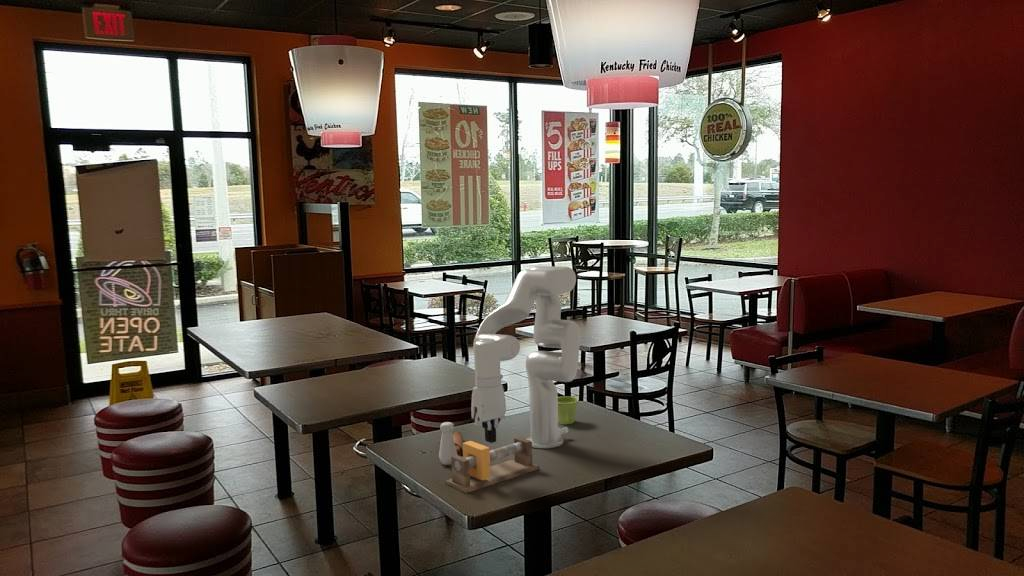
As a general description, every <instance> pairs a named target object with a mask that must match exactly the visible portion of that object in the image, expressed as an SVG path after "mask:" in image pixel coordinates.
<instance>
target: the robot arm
mask: <svg viewBox="0 0 1024 576" xmlns="http://www.w3.org/2000/svg"><path fill="white" fill-rule="evenodd" d="M576 282H577V275H576V272H575V271H574V270H573V268H572V267H569V266H552V265H551V266H548V265H539V266H533V267H529V268H528V269H522V270H521V271H520V272H519V273H517V275H516V278H515V280H514V281H513V284H512V286H511V288H510V290H509V293H508V294H507V296H506V300H505V302H504V303H503V304H502V305H501V306H500V307H499V306H498V308H496V309H495V310H494V311H492V312H491V313H489V314H488V315H487V316H486V317H485V318H484V319H483V321H481V323H480V325H479V328H478V329H477V330H476V334H475V336H474V339H473V343H472V345H473V346H472V348H473V357H474V359H473V360H474V379H475V386H474V387H473V388H472V393H471V408H470V409H471V410H470V411H471V419H473V420H474V423H473V424H474V426H477V427H482V428H483V429H484V438H485V439H484V440H485V442H487V443H490V444H493V443H496V442H497V429H498V426H499V423H500V421H503V420H504V419H505V418H506V412H507V405H506V395H505V390H504V385H503V384H502V379H503V378H504V375H503V374H502V373H501V362H504V361H511V360H513V359H515V358H516V357H517V356H518V355H519V353H520V349H521V344H520V342H519V340H518V339H517V337H515V336H513V335H509V334H499V333H497V332H499V331H500V330H501V329H503V328H505V327H507V326H510V325H513V324H516V323H519V322H521V321H523V320H526V319H527V318H528V317H529V315H530V314H531V311H532V309H533V307H534V303H535V307H536V308H535V317H534V324H533V325H534V326H533V327H534V328H533V341H534V343H535V345H536V346H539V347H543V348H552V349H554V348H555V349H561V351H560V352H559V351H550V350H548V351H547V350H534V351H532V352H530V353H529V354H528V355H527V357H526V359H525V371H526V375H527V381H528V389H529V390H528V393H529V395H528V396H529V397H528V398H529V429H530V430H529V432H530V433H529V435H530V436H529V437H527V438H526V439H527V440H530V441H532V448H534V449H535V448H536V449H555V448H557V447H561V446H562V445H563V444H564V438H563V437H562V435H563V434H567V433H569V428H568V427H567V426H565V427H561V428H560V426H559V422H558V397H559V396H558V395H559V393H558V390H557V387H556V385H555V383H554V382H562V383H564V382H565V383H568V382H569V383H570V382H573V380H575V378H576V375H577V373H578V372H577V371H578V365H579V355H580V345H581V330H580V326H579V325H578V324H577V322H575V321H574V320H570V319H561V318H562V317H561V313H562V303H561V300H560V299H559V297H558V296H561V295H565V294H568V293H570V292H572V290H573V289H574V288H575V286H576Z"/></svg>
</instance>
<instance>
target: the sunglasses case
mask: <svg viewBox="0 0 1024 576" xmlns="http://www.w3.org/2000/svg"><path fill="white" fill-rule="evenodd" d="M453 438H454V443H455V447H456V451H457V455H458V456H461V457H462V456H463V443H464V437H463V434H462V433H461V432H460V431H455V432H454V433H453ZM438 443H439V445H440V444H441V440H440V441H439V442H438Z"/></svg>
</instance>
